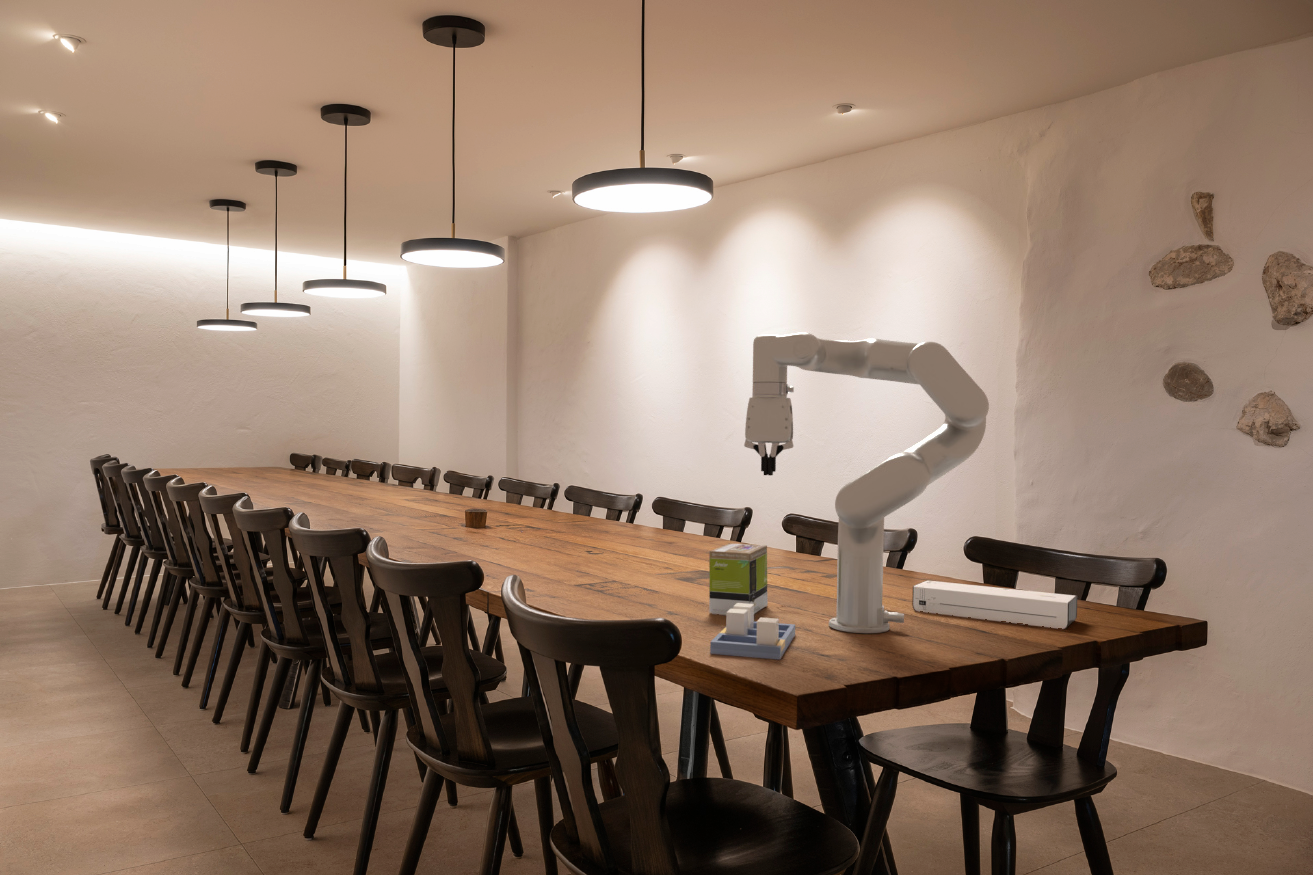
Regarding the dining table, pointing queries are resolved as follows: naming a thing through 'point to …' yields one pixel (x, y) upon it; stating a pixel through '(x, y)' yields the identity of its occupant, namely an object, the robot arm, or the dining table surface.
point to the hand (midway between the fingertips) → (768, 474)
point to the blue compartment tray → (752, 643)
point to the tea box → (737, 577)
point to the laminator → (995, 603)
